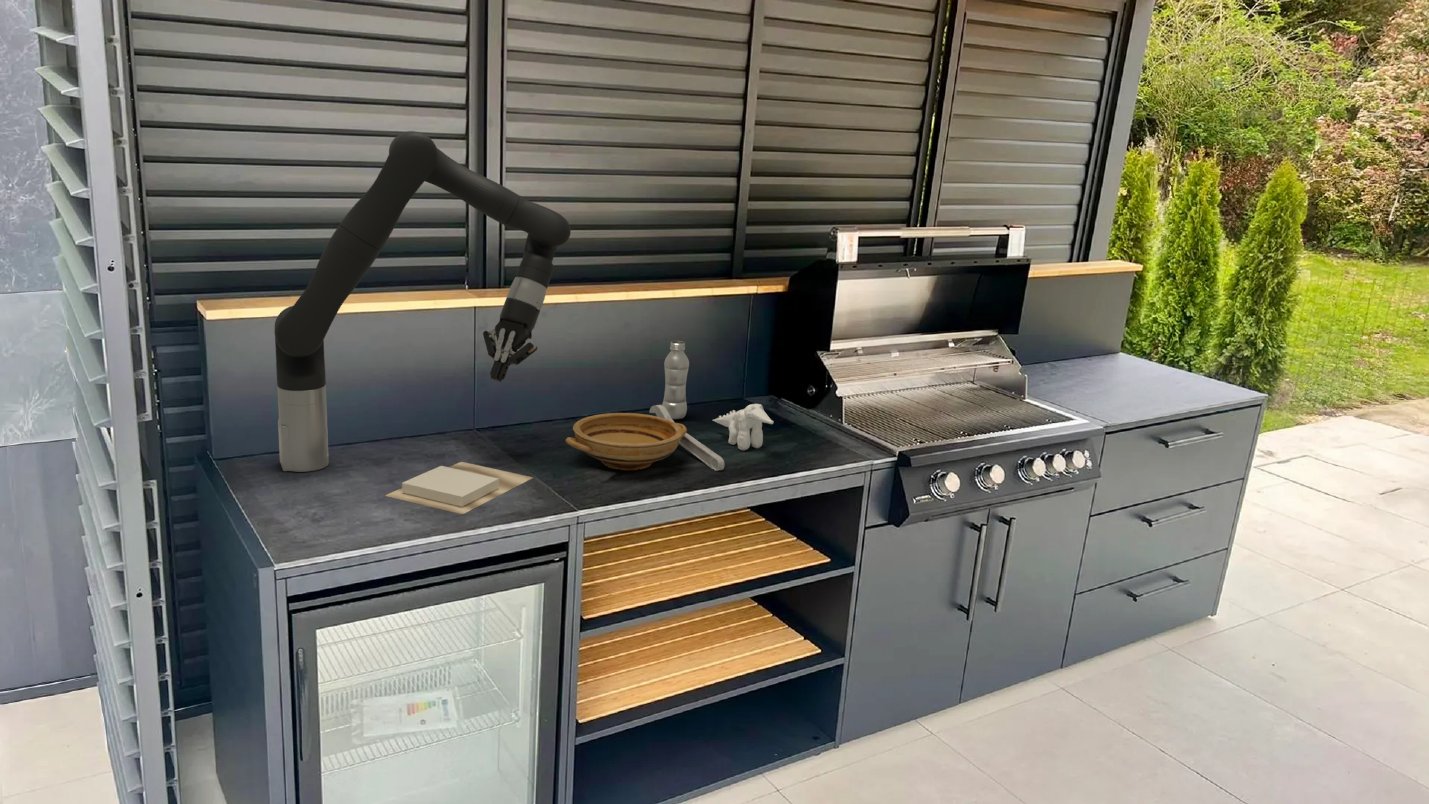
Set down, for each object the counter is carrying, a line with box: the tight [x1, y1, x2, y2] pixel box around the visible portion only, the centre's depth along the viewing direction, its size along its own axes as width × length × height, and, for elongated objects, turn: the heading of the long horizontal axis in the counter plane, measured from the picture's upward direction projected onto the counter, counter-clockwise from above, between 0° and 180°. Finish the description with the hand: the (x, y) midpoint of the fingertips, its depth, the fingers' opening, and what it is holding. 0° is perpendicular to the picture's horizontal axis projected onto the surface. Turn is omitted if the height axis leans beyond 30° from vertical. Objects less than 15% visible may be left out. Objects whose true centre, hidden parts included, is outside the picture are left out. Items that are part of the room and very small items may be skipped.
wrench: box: [649, 404, 725, 472], centre depth 242 cm, size 8×2×30 cm
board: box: [384, 461, 534, 515], centre depth 208 cm, size 24×18×2 cm
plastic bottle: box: [661, 340, 690, 420], centre depth 266 cm, size 6×7×20 cm
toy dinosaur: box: [712, 403, 774, 451], centre depth 250 cm, size 7×24×11 cm, turn 35°
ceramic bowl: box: [565, 412, 688, 471], centre depth 232 cm, size 30×24×8 cm
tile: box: [401, 465, 499, 507], centre depth 205 cm, size 14×2×12 cm
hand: (495, 380), depth 218 cm, fingers closed
